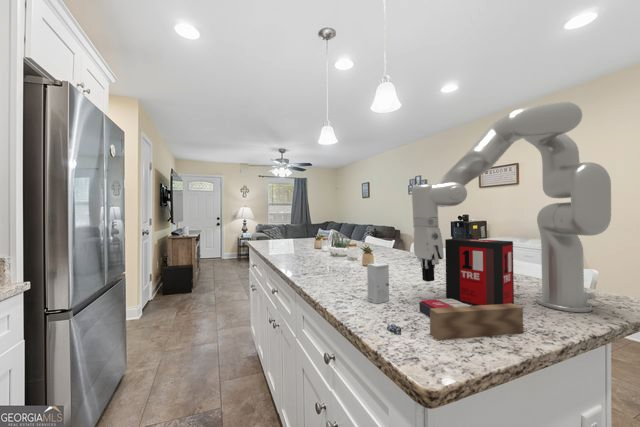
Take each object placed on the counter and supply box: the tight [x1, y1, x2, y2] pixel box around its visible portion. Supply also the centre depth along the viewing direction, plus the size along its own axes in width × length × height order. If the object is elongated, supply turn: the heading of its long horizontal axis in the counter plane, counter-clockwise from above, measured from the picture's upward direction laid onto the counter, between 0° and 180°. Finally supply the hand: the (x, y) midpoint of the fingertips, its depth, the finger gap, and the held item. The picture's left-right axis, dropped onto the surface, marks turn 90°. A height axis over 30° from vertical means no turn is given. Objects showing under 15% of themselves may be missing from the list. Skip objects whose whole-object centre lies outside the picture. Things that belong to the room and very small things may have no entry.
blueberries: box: [385, 323, 408, 336], centre depth 64 cm, size 7×8×2 cm
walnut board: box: [429, 303, 524, 341], centre depth 62 cm, size 22×3×6 cm, turn 98°
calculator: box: [418, 298, 470, 319], centre depth 71 cm, size 11×4×15 cm
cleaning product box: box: [445, 237, 515, 306], centre depth 84 cm, size 16×9×20 cm, turn 37°
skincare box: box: [366, 262, 390, 305], centre depth 87 cm, size 6×4×12 cm
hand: (428, 280), depth 84 cm, fingers closed
